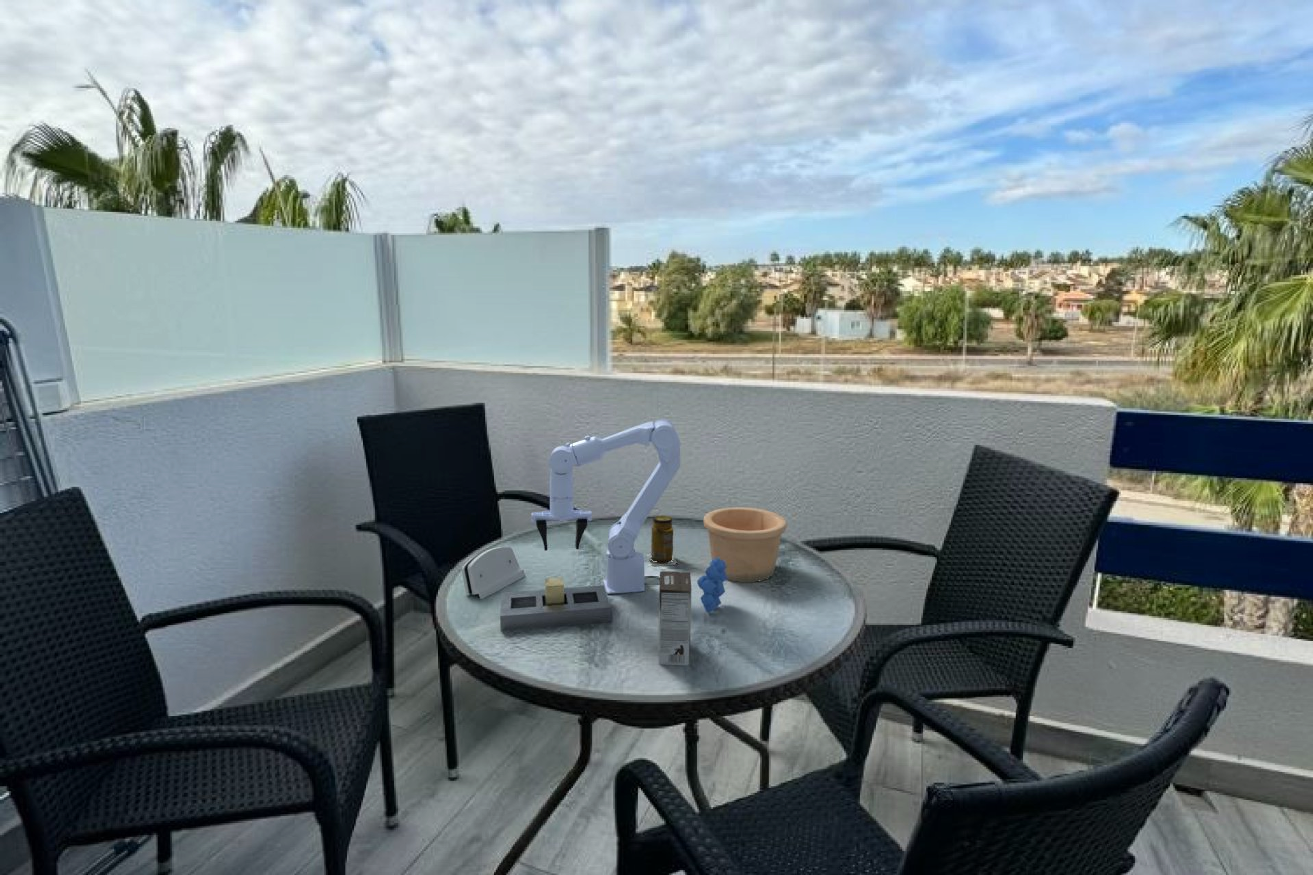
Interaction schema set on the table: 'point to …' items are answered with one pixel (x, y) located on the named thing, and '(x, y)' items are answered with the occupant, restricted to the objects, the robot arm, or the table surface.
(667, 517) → the condiment
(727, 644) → the table surface
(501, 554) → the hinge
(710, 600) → the grapes
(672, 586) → the coffee box
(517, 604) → the grey block holder
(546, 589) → the brass block
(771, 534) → the pottery
